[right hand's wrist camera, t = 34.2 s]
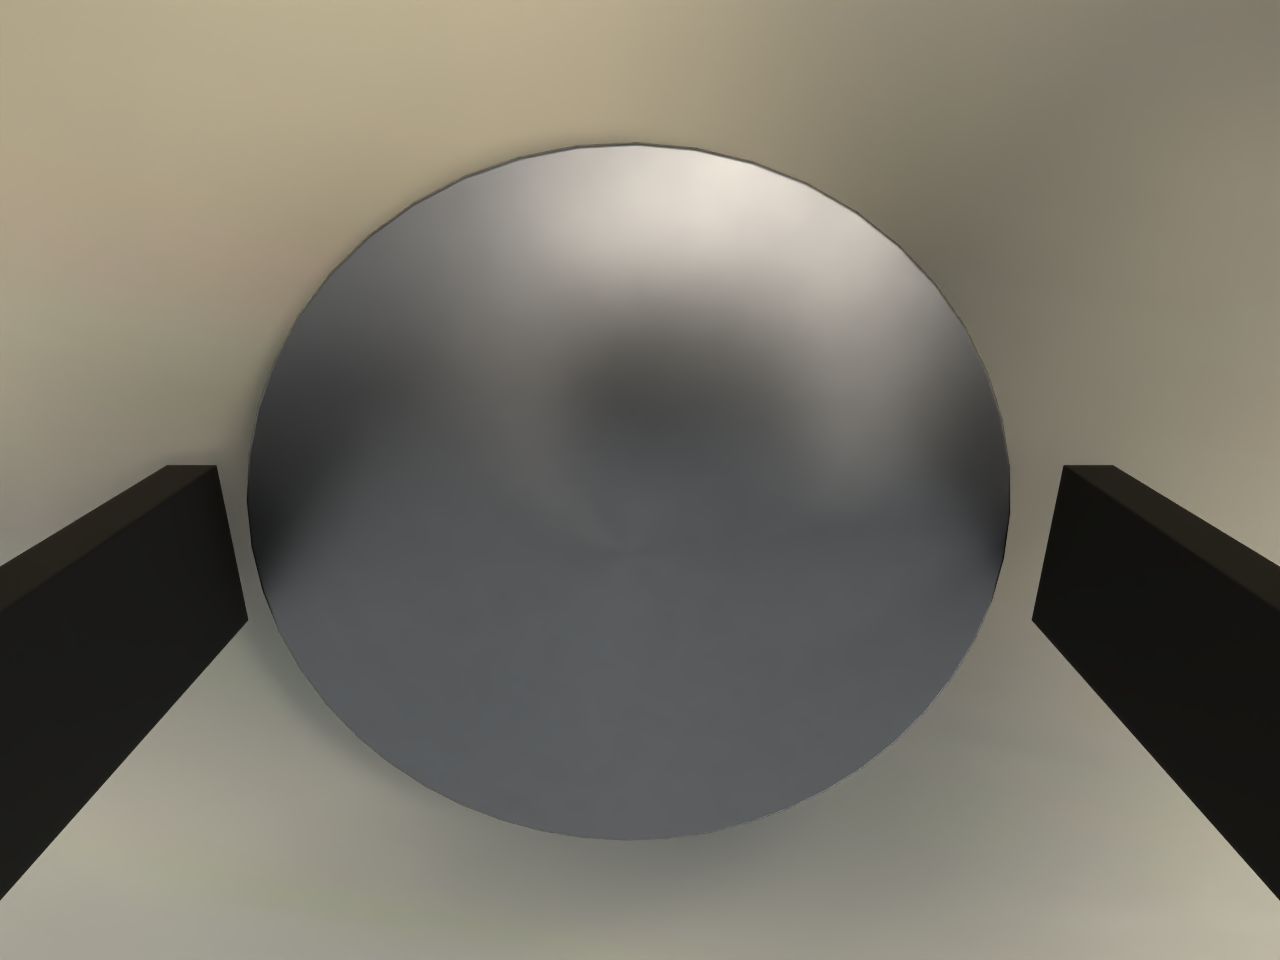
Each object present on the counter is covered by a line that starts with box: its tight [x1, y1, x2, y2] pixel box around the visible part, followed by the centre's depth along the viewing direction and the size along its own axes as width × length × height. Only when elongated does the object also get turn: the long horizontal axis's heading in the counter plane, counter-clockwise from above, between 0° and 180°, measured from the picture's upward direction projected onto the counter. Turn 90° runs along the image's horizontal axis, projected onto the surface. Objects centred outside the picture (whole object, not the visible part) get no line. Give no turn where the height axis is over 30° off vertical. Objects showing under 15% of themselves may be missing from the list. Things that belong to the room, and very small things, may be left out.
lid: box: [247, 142, 1010, 840], centre depth 13 cm, size 11×11×2 cm
